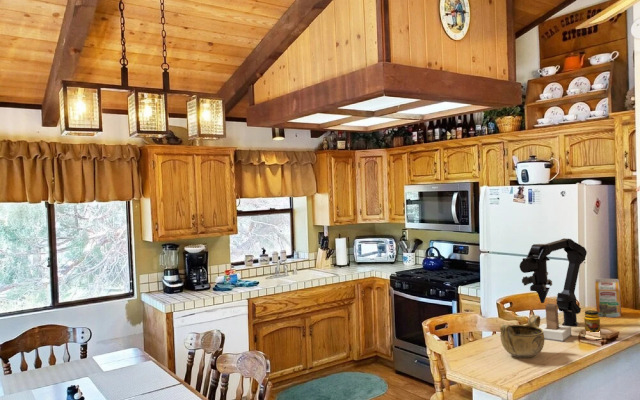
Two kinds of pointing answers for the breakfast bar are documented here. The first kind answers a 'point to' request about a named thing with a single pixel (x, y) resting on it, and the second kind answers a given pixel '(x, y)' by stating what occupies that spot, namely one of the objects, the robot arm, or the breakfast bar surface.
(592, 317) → the condiment
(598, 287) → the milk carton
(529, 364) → the breakfast bar surface
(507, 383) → the breakfast bar surface
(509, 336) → the ceramic bowl
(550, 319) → the peg
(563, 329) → the socket block
